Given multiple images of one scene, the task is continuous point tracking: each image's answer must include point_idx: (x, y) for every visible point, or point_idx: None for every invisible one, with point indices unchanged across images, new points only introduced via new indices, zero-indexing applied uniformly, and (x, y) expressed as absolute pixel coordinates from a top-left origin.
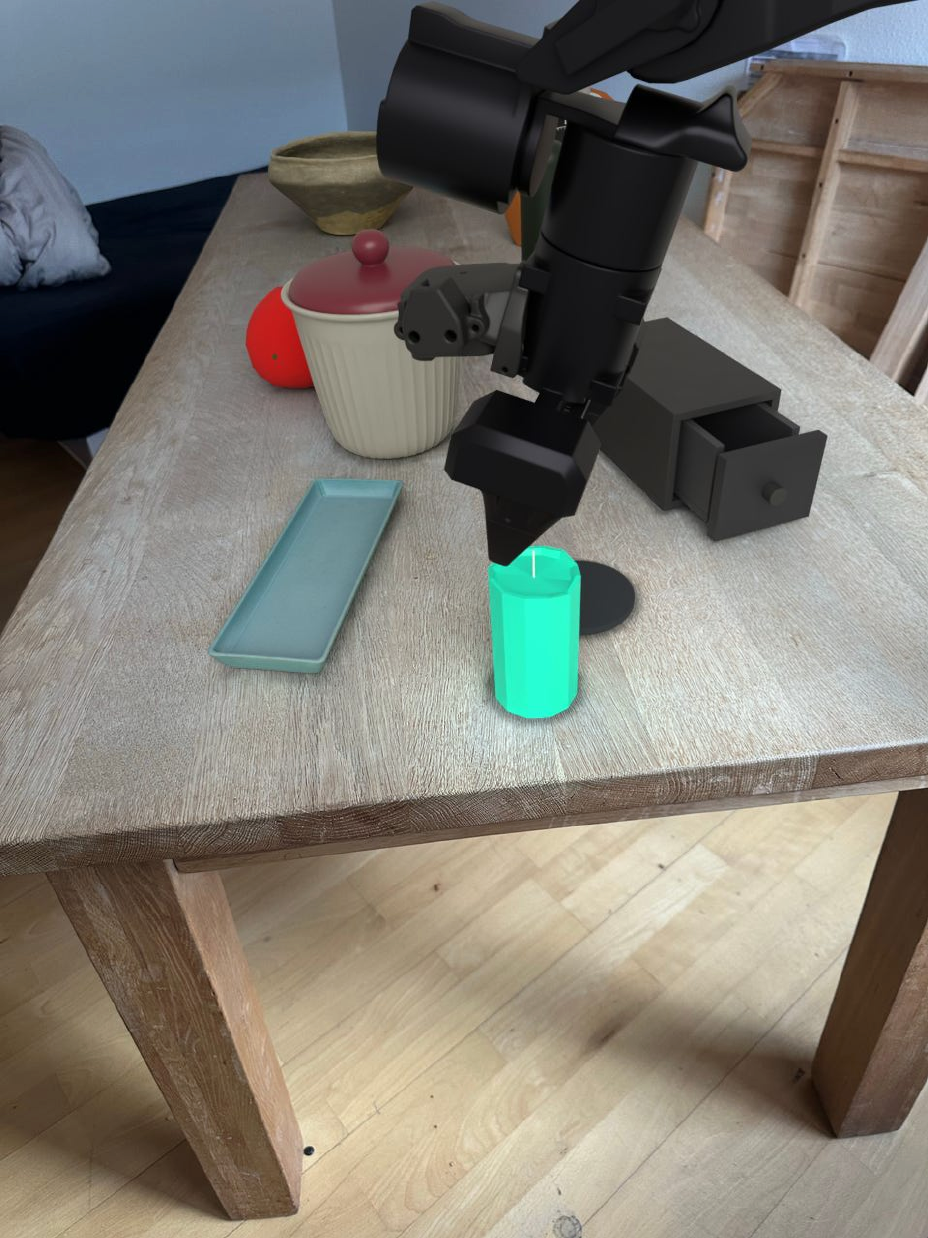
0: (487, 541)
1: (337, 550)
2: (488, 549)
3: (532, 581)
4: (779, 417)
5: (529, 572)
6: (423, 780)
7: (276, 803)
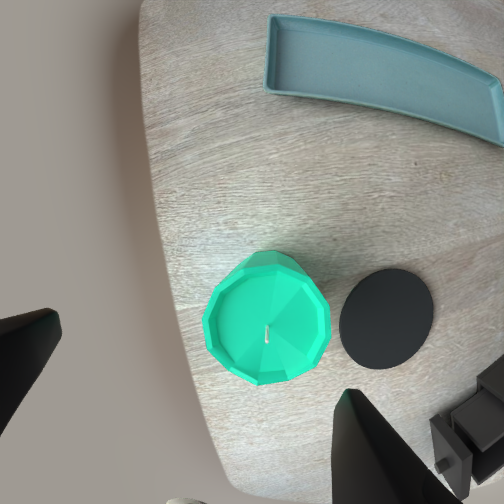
0: (10, 317)
1: (434, 93)
2: (26, 313)
3: (255, 325)
4: (493, 472)
5: (277, 320)
6: (163, 202)
7: (145, 105)
